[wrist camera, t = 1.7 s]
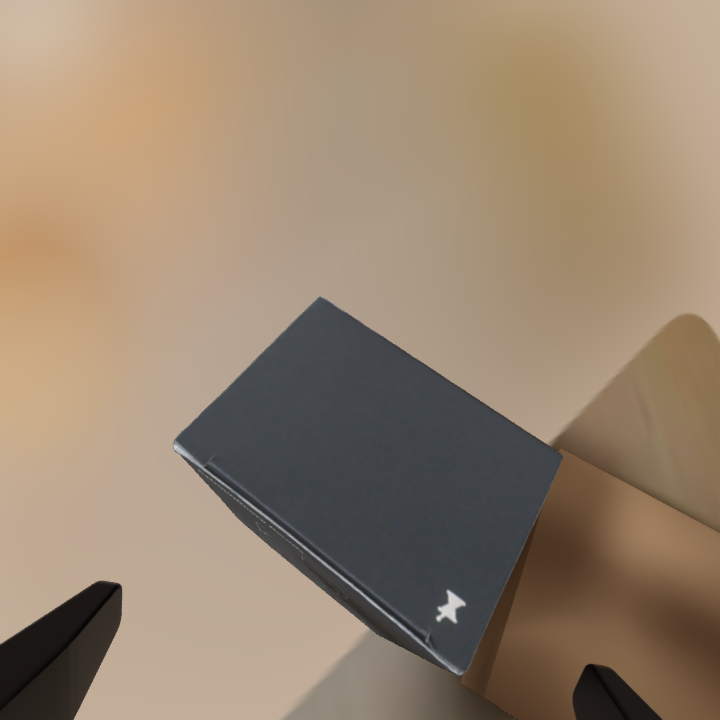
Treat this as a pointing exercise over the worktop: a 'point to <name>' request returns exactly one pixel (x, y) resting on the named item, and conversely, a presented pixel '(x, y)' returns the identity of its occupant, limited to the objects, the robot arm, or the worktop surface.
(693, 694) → the walnut slab
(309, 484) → the box
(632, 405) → the worktop surface
